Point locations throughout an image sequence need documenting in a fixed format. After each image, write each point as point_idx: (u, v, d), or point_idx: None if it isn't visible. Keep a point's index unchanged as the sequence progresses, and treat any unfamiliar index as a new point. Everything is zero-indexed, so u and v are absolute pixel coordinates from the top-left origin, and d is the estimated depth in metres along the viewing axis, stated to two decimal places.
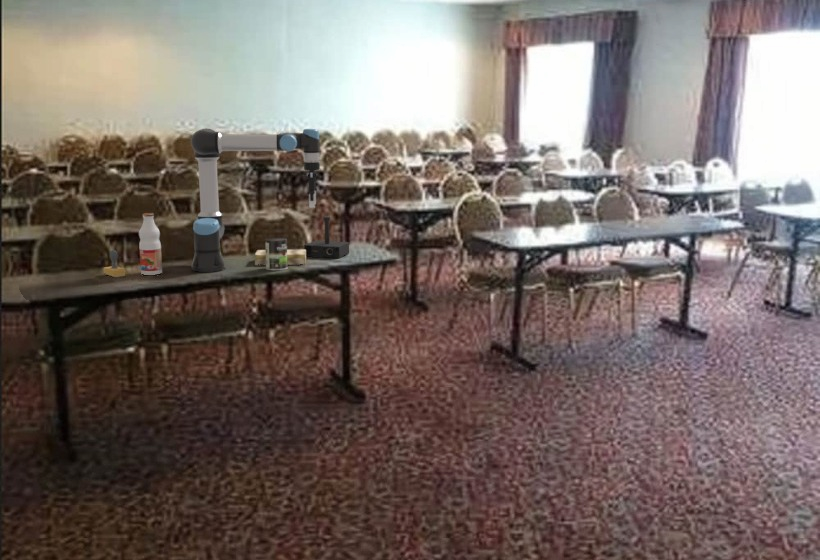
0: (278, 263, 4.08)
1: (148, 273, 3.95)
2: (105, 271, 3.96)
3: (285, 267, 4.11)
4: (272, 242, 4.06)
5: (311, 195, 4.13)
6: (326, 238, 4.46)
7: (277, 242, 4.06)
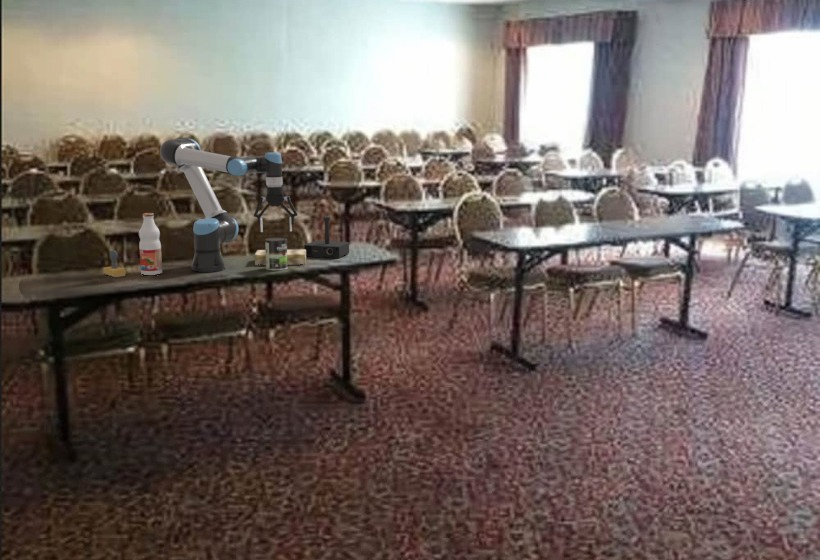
0: (278, 263, 4.08)
1: (148, 273, 3.95)
2: (105, 271, 3.96)
3: (285, 267, 4.11)
4: (272, 242, 4.06)
5: None
6: (326, 238, 4.46)
7: (277, 242, 4.06)
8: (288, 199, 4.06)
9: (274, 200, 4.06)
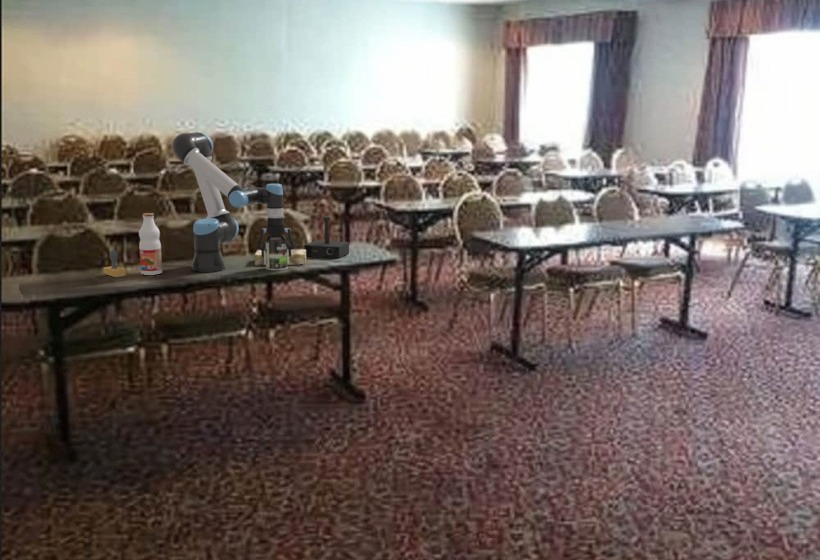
0: (278, 263, 4.08)
1: (148, 273, 3.95)
2: (105, 271, 3.96)
3: (285, 267, 4.11)
4: (272, 242, 4.06)
5: (261, 251, 4.11)
6: (326, 238, 4.46)
7: (277, 242, 4.06)
8: (288, 231, 4.09)
9: (275, 230, 4.09)
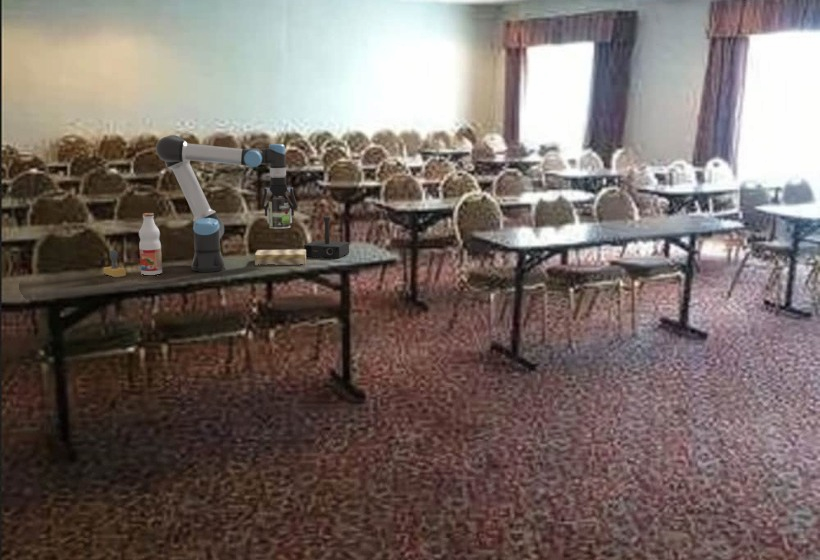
0: (281, 222, 4.18)
1: (148, 273, 3.95)
2: (105, 271, 3.96)
3: (288, 226, 4.20)
4: (274, 201, 4.16)
5: (265, 210, 4.21)
6: (326, 238, 4.46)
7: (280, 201, 4.15)
8: (291, 190, 4.18)
9: (278, 190, 4.18)
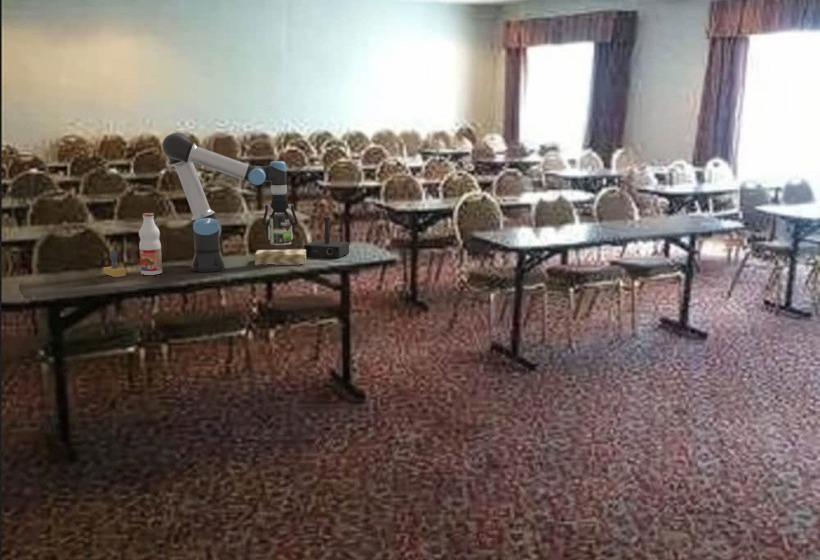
0: (282, 238, 4.22)
1: (148, 273, 3.95)
2: (105, 271, 3.96)
3: (289, 242, 4.25)
4: (276, 218, 4.20)
5: (266, 227, 4.25)
6: (326, 238, 4.46)
7: (281, 218, 4.20)
8: (292, 207, 4.23)
9: (279, 207, 4.23)
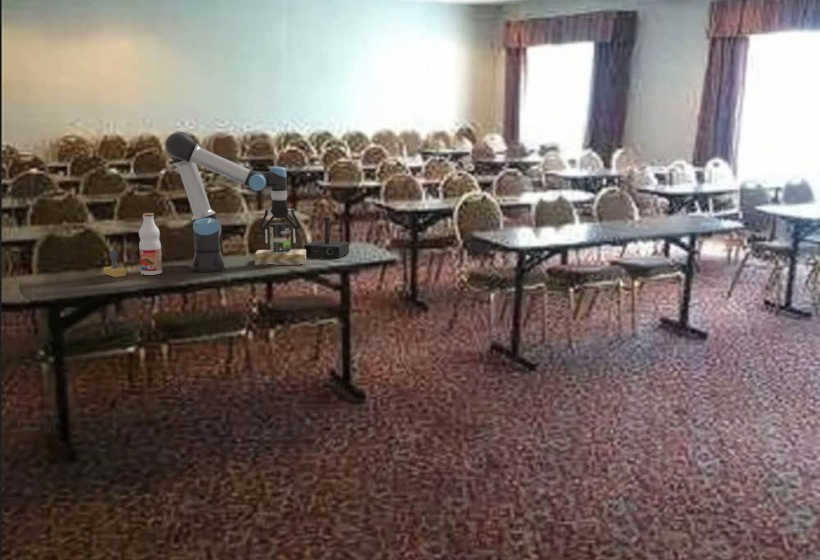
0: (282, 247, 4.23)
1: (148, 273, 3.95)
2: (105, 271, 3.96)
3: (289, 251, 4.26)
4: (276, 227, 4.21)
5: (263, 230, 4.26)
6: (326, 238, 4.46)
7: (281, 226, 4.21)
8: (292, 212, 4.24)
9: (279, 213, 4.23)
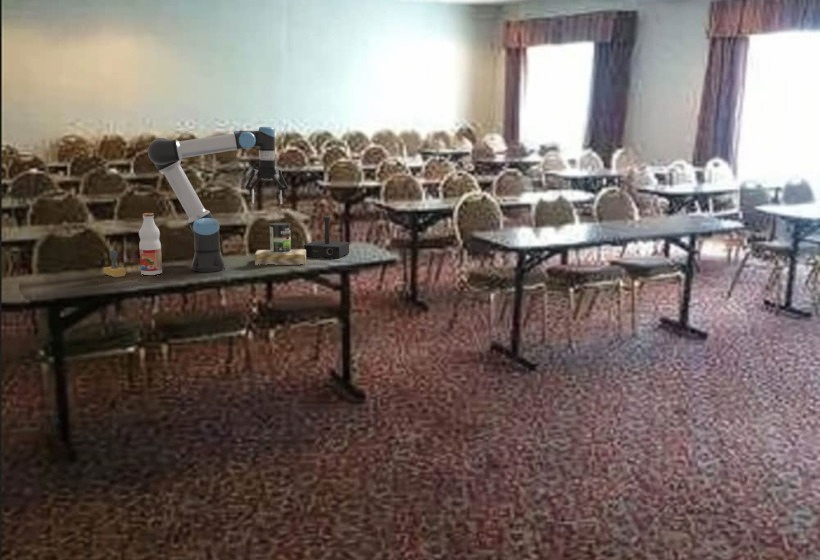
0: (282, 247, 4.23)
1: (148, 273, 3.95)
2: (105, 271, 3.96)
3: (289, 251, 4.26)
4: (276, 227, 4.21)
5: None
6: (326, 238, 4.46)
7: (281, 226, 4.21)
8: (279, 172, 4.21)
9: (266, 173, 4.20)
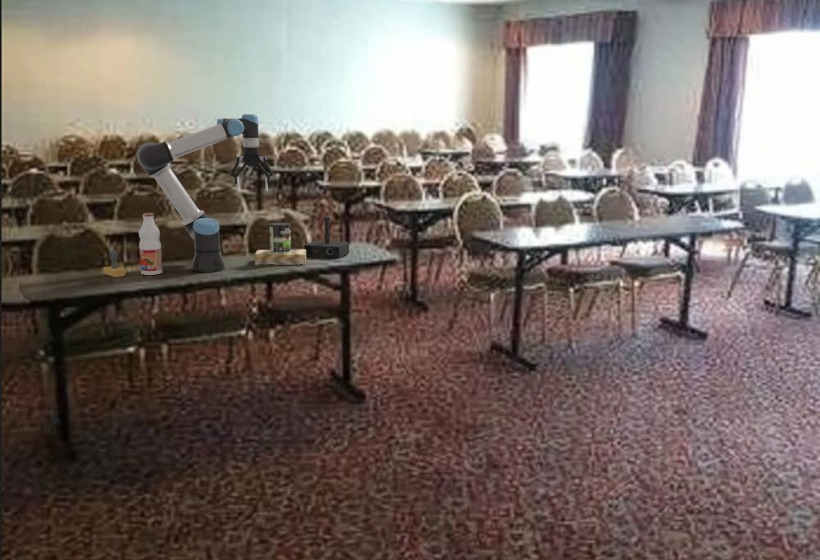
0: (282, 247, 4.23)
1: (148, 273, 3.95)
2: (105, 271, 3.96)
3: (289, 251, 4.26)
4: (276, 227, 4.21)
5: None
6: (326, 238, 4.46)
7: (281, 226, 4.21)
8: (264, 159, 4.21)
9: (250, 160, 4.21)
